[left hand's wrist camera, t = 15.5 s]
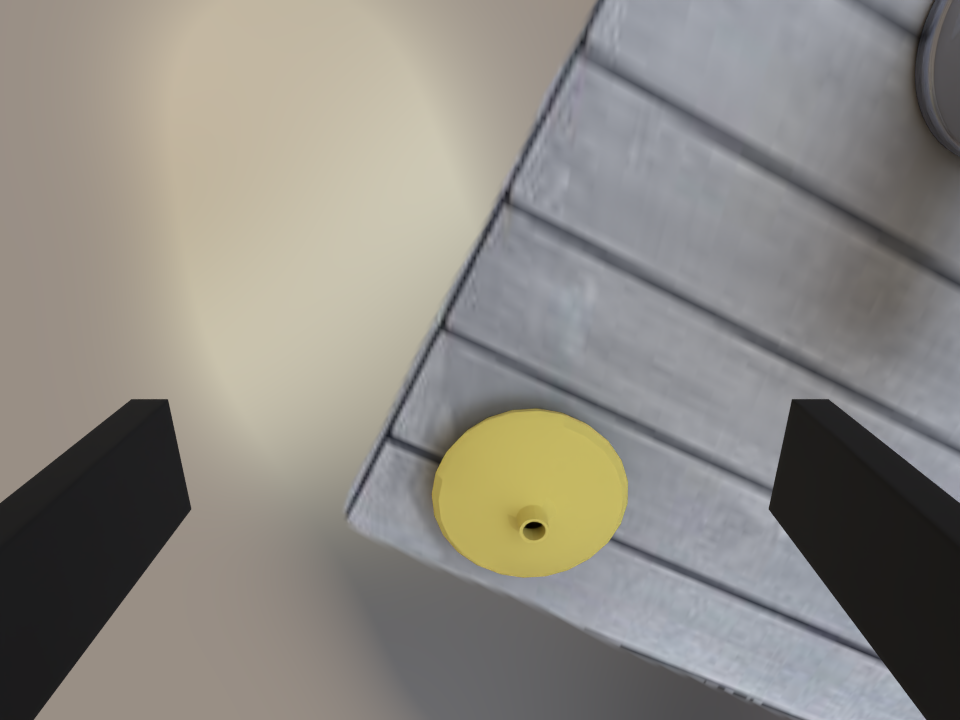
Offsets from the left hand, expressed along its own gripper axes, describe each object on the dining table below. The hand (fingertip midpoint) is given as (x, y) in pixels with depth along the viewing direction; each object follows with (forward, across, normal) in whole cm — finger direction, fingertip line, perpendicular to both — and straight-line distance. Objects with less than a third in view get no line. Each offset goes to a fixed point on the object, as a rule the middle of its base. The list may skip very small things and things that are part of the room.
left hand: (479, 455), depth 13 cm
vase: (+32, +4, -21) cm, 39 cm away
